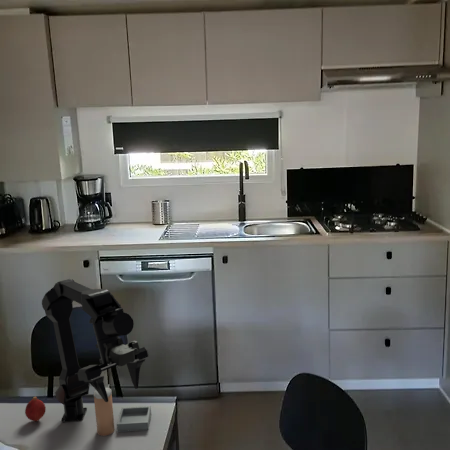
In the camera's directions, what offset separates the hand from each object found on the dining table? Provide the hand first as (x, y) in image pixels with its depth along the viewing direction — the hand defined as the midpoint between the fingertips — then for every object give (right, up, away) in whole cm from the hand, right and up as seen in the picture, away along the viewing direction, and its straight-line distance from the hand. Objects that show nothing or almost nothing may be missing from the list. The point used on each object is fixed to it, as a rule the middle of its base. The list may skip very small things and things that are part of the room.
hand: (122, 395), depth 135 cm
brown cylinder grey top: (-8, -15, +15) cm, 23 cm away
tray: (0, -14, +19) cm, 24 cm away
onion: (-31, -15, +21) cm, 40 cm away
